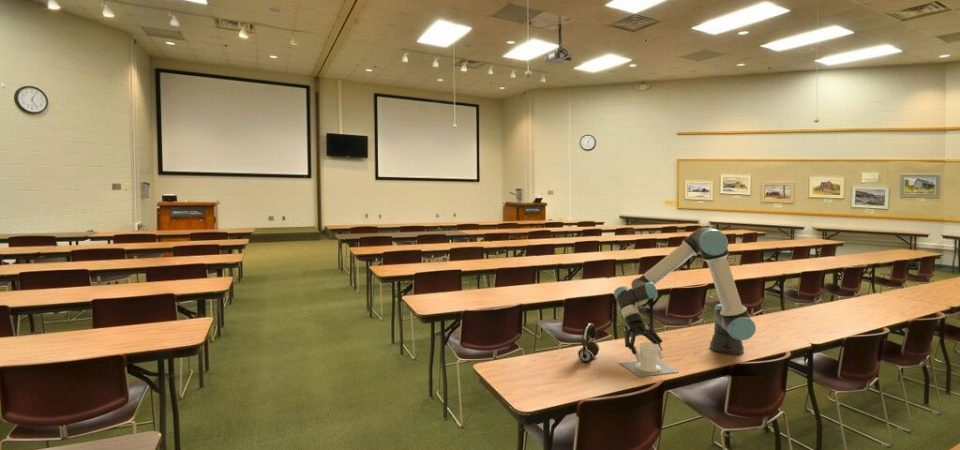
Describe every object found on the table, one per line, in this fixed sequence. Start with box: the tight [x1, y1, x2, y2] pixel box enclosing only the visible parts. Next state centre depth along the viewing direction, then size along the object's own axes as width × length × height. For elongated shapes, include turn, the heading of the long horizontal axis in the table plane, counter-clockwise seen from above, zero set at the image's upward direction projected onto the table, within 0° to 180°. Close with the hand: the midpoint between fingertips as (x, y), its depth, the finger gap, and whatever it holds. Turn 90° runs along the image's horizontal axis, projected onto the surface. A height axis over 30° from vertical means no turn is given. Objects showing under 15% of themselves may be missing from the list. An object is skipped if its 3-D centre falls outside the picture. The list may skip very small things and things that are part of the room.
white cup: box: [639, 342, 658, 369], centre depth 208 cm, size 8×8×10 cm
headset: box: [577, 321, 600, 363], centre depth 218 cm, size 17×8×20 cm, turn 150°
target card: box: [618, 358, 679, 378], centre depth 208 cm, size 20×16×1 cm
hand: (650, 359), depth 206 cm, fingers open, 11 cm apart
